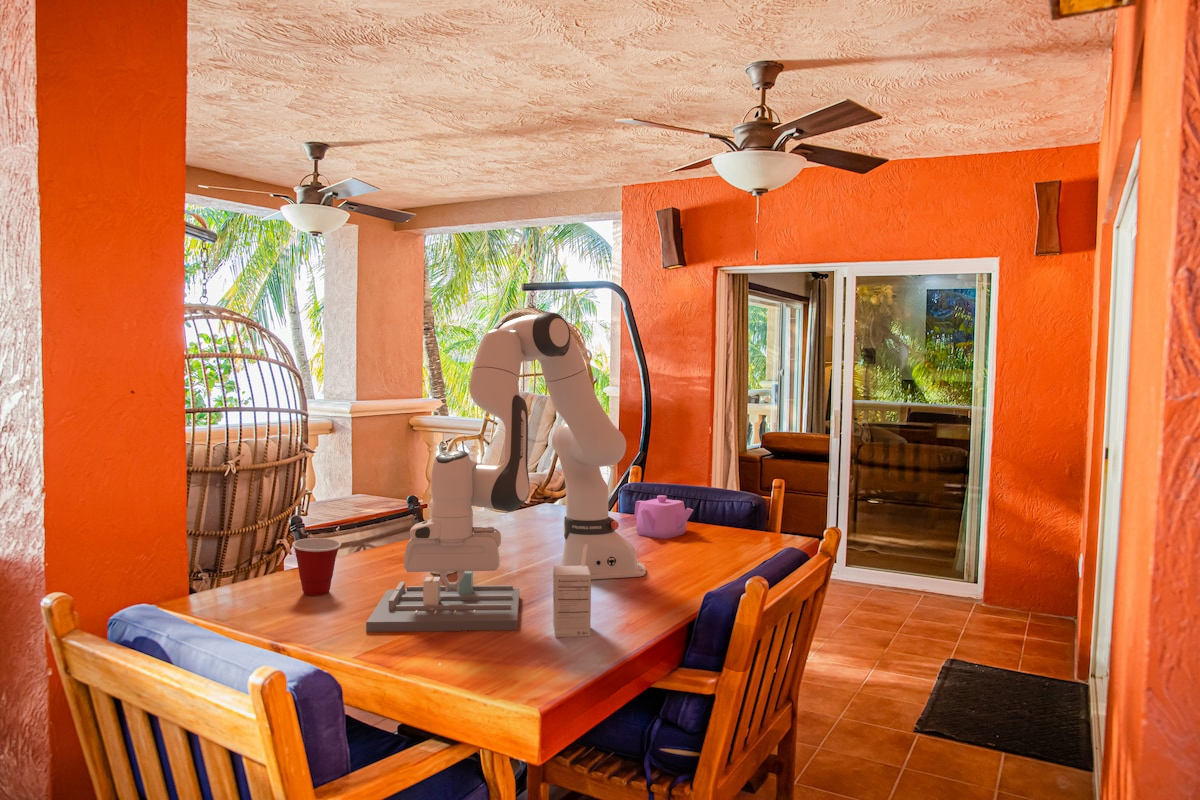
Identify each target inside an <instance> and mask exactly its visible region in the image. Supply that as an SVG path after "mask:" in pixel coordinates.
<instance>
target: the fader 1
mask: <svg viewBox="0 0 1200 800" xmlns="http://www.w3.org/2000/svg"><path fill="white" fill-rule="evenodd" d="M422 584H423V585H422V586H423V605H438V604H439V601H440V586H441V577H440V576H426V577H425V579H424V581H423V583H422Z"/></svg>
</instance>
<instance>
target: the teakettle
mask: <svg viewBox="0 0 1200 800" xmlns="http://www.w3.org/2000/svg"><path fill="white" fill-rule="evenodd" d="M693 512H694V509H692V508H690V507H687V508H686V507H685V504H684V501H683V500H679V499H678V500H677V499H669V498H668V495H663V494H662V495H661V494H659V495H657V496H656V498H652V499H648V500H637V501H635V506H634V517H633V518H634V519H636V523H635V528H636V533H637V535H638V536H642V537H647V538H654V539H655V538H656V539H661V540H667V539H672V538H677V537H679V536H681V535H684V534H685V533H686V530H687V526H688V524H687V523H688V519H689V518H690V516H691V515H692V513H693Z"/></svg>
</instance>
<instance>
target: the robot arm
mask: <svg viewBox="0 0 1200 800" xmlns="http://www.w3.org/2000/svg"><path fill="white" fill-rule="evenodd" d="M533 361H538V362H539V364H540V367H541V372H542V375H543V379H544V382H545V385H546V387H547V390H548V394H549V397H550V399H551V403H552V406H553V408H554V409H555V411H556V412H557V413H558V414H559V415H560V416H561V418H562V420H563V421H564V422H563V423H561V424H560V425H558V426H557V427H556V428H555V429H554V431H553V432H552V433H553V434H552V436H551V445H552V448H553V450H554V452H555V453H556V454H557V457H558V458H559V459H558V460H559V461H560V465H561V470H562V474H563V478H564V483H565V485H564V486H565V516H564V520H563V538H564V547H563V552H562V553H563V554H562V556H561V561H560V562H561V563H560V565H559V566H588V568H589V571H590V574H591V580H605V579H606V580H607V579H619V578H620V579H621V578H637V577H639V578H640V577H642V576H645V574H646V573H647V571H646V570H647V569H646V567H645V565H644V563H642V562H639V561H638V557H637V556H638V555H637V551H636V549H635V547H634V546H633V544H632V543H631V542H629V541H628V540H627V539H626V538H624V537H623V536H622V535H621V534H620V533H619V532H617V530H618V528H620V524H619V522H618V521H617V520H615V519H614V518H613V517H610V516H609V495H610V493H609V486H608V484H607V482H606V481H605V479H604V477H603V474H602V471H601V467H608V466H614V465H617V464H618V463H619V462H620V461H621V460H622V459H623V458H624V456H625V454H626V451H627V441H626V438H625V435H624V434H623V432H622V431H621V430H619V429H618V428H617V427H616V426H615V425H614V424H613V422H612V421H611V419H610V418H609V416H608V414H607V413H606V410H605V409H604V408H603V406H602V404H601V403H600V401H599V399H598V397H597V395H596V392H595V390H594V387H593V384H592V381H591V378H590V374H589V372H588V369H587V366H586V363H585V359H584V358H583V355H582V353H581V350H580V348H579V346H578V344H577V342H576V340H575V338H574V337H573V335H572V334H571V329H570V327H569V324H568V322H567V320H566V319H565V318H564V317H563V316H562V315H561V314H559V313H557V312H550V311H549V312H548V311H547V312H546V311H544V312H541V313H532V314H525V315H522V316H520V317H515V318H513V319H508V320H504V321H502V322H500V323H498V324H497V325H496V326H495V327H494V328H493V329H491V330H489V331H487V332H486V333H485V334H484V335H483V336H482V339H481V341H480V344H479V346H478V349H477V352H476V354H475V359H474V362H473V365H472V371H471V375H470V380H469V394H470V397H471V399H472V401H473V402H474V403H475V405H476V406H478V407H479V408H480V409H481V410H483V411H485V413H488V414H490V415H492V416H494V417H496V418H498V419H499V420H501V421H502V423H503V425H504V428H505V430H504V431H505V432H504V461H503V462H502V463H501V464H490V463H482V462H476V461H474V460H473V459H471V456H470V454H469V453H468V452H466V451H463V450H452V451H444V452H442V453H440V454H438V455H437V456H435V458H434V460H433V463H432V470H431V479H430V481H431V485H430V492H431V493H430V495H431V499H433V508H432V512H431V519H430V518H429V519H426V520H424V521H421V522H418V523H415V524H413V526H411V528H410V530H409V537H410V539H409V540H408V542H407V544H406V546H405V549H404V550H405V551H404V558H403V559H404V560H403V561H404V562H403V568H404V570H405V571H406V572H407V573H431V572H440V575H439V577H440V580H441V581H442V582H443V584H444V586H445V591H446V592H459V590H460V582H461V580H462V579H463V577H464V574H465V571H473V572H490V571H491V572H493V571H494V572H495V571H497V570H498V569H499V567H500V562H501V561H500V552H499V551H500V550H499V547H500V546H501V543H502V534H501V532H500V531H499V530H498V529H496V528H494V527H493V526H492V527H491V526H488V527H482V526H480V527H479V526H475V527H474V510H473V507H477V508H483V509H486V508H487V509H495V510H499V511H504V512H508V513H512V512H514V511H516V510H517V509H519V508H521V506H522V505H524V504H525V502H527V500H528V498H529V496H530V477H529V468H528V467H529V466H528V464H529V463H528V462H529V460H528V458H529V457H528V453H529V449H528V448H529V411H528V405H527V402H526V400H525V398H523V397H522V396H520V391H519V381H520V376H521V368H522V362H525V363H526V362H533ZM448 571H456V572H457V579H456V581H450V580H449V579H448V577H447V576H448V575H449V574H448ZM458 576H460V577H459V578H458Z"/></svg>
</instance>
